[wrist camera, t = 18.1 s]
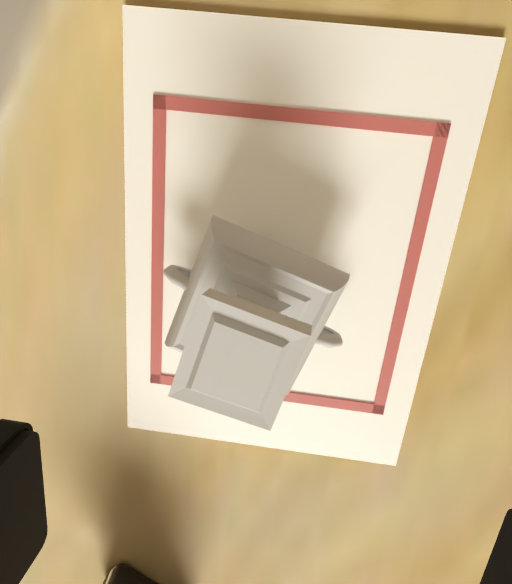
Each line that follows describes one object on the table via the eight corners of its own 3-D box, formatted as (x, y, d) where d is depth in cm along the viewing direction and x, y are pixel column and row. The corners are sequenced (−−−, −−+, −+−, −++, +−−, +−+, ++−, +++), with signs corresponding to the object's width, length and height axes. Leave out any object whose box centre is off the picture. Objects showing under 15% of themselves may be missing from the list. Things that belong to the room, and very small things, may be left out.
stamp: (158, 310, 24) (88, 400, 17) (198, 195, 22) (139, 237, 14) (312, 373, 25) (314, 490, 17) (368, 266, 22) (402, 346, 15)
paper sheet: (503, 38, 19) (507, 37, 18) (394, 462, 27) (396, 466, 26) (125, 6, 20) (121, 4, 19) (129, 423, 28) (127, 428, 27)
